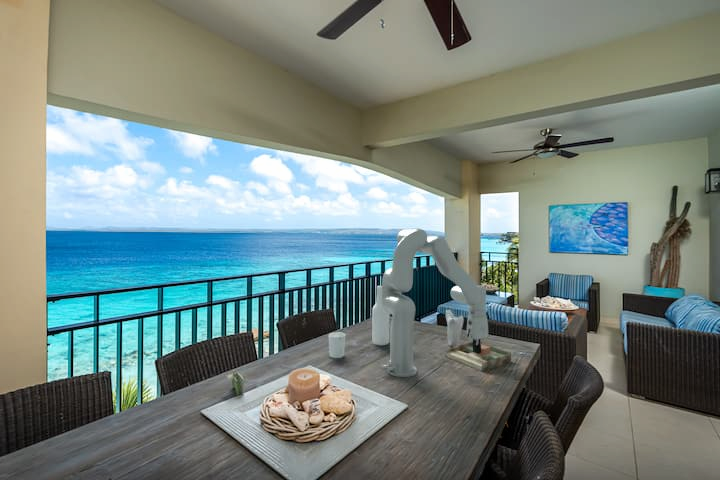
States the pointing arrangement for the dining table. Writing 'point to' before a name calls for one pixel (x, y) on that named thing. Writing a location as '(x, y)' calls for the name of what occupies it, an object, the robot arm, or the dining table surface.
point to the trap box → (478, 357)
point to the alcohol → (380, 321)
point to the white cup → (336, 344)
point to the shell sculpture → (453, 328)
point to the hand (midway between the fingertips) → (476, 352)
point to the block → (484, 350)
